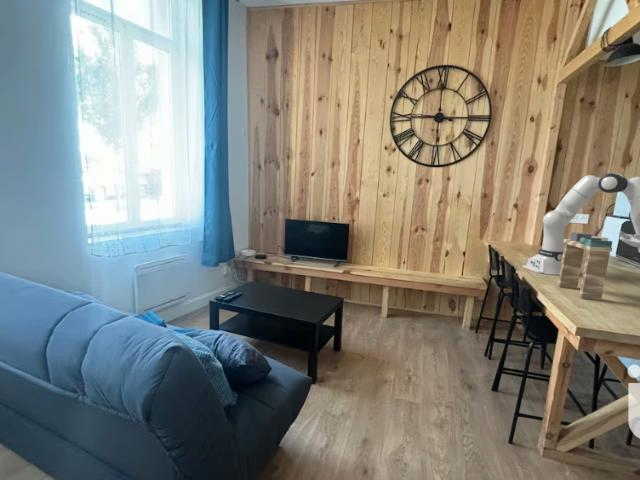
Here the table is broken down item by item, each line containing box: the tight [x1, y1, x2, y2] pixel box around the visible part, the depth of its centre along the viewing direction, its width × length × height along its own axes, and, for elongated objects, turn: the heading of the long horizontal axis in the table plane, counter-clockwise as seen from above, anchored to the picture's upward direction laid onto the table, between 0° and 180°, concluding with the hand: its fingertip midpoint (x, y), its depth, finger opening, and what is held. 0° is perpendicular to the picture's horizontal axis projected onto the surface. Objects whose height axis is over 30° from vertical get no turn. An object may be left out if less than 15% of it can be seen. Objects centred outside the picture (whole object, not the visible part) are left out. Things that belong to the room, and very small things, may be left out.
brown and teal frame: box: [557, 237, 613, 301], centre depth 180 cm, size 20×10×29 cm, turn 176°
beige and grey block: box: [569, 231, 609, 242], centre depth 183 cm, size 16×5×4 cm, turn 86°
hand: (627, 233), depth 181 cm, fingers open, 8 cm apart
